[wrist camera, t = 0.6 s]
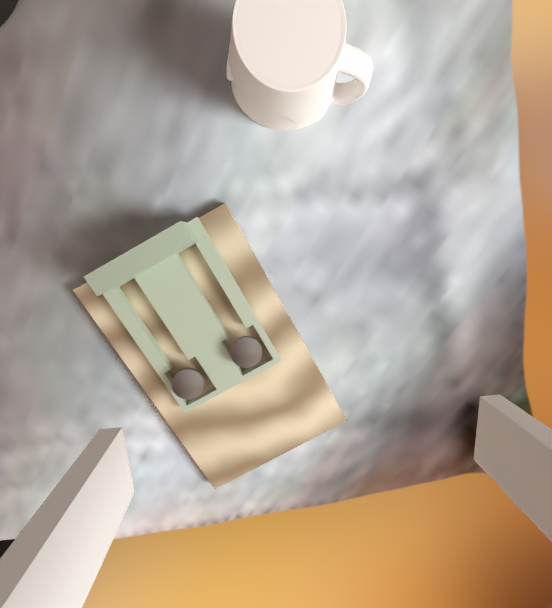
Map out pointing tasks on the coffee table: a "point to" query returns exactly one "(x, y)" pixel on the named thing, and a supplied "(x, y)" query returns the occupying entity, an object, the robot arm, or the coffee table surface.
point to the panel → (180, 306)
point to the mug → (293, 61)
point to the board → (247, 402)
